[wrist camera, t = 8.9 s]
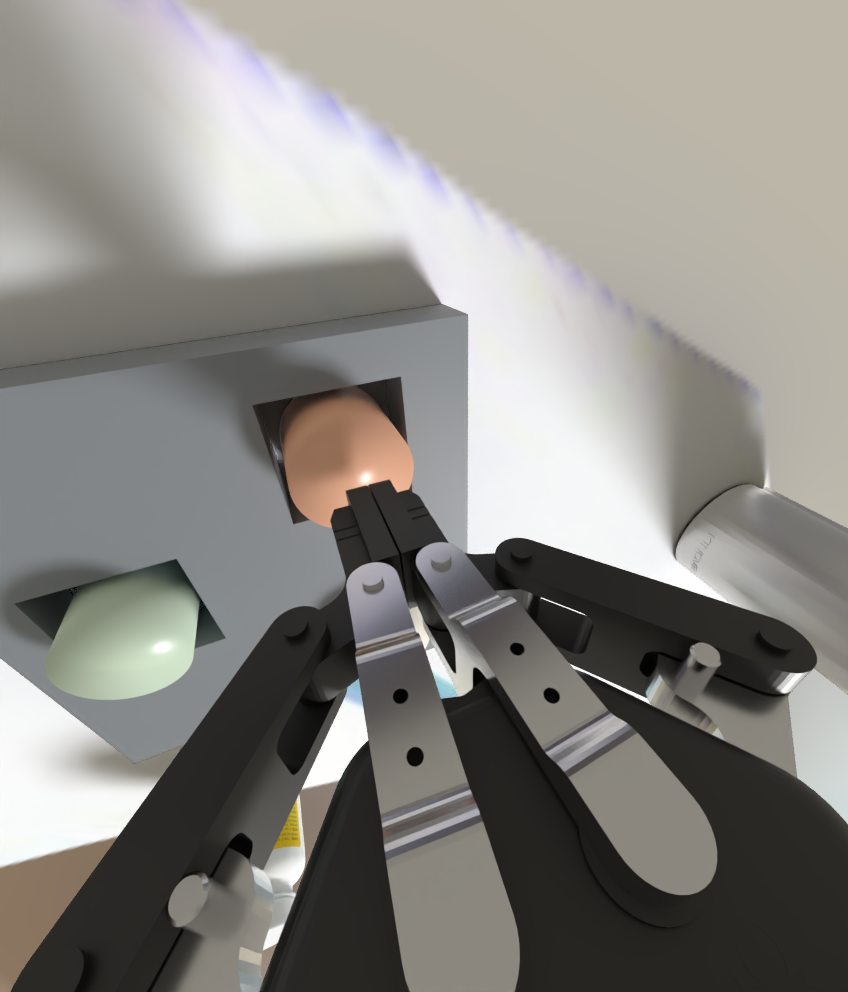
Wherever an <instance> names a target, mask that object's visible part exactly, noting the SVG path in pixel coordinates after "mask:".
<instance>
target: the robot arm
mask: <svg viewBox="0 0 848 992" xmlns="http://www.w3.org/2000/svg"><path fill="white" fill-rule="evenodd" d="M346 497H347V501H348V505H349V506H345V507H341V508H337V509H334V511H333V514H332V517H331V520H330V522H331V526H332V529H333V533H334V536H335V540H336V544H337V547H338V551H339V555H340V558H341V562H342V565H343V569H344V573H345V576H346V582H345V586H344V588H343V590H342V592H341V593H340V594H339V596H338V597H337V598H336V599H334V600H333V601H332V602H331V603H329V604H328V605H326V606H324V607H323V608H321V609H320V610H318V609H317V608H314V607H311V606H299V607H295V608H292V609H290V610H287V611H286V612H284V613H282V614H281V615H280V616H279V617H277V618H276V619H275V620H274V622H273V623H272V624H271V626H270V627H269V628H268V630H267V631H266V632H265V634H264V635H263V637H262V638H261V639H260V641H259V642H258V644H257V645H256V646H255V648H254V649H253V651H252V652H251V653H250V655H249V656H248V657H247V659H246V660H245V662H244V663H243V664H242V666H241V667H240V669H239V670H238V671H237V673H236V674H235V675H234V677H233V678H232V680H231V681H230V682H229V684H228V685H227V687H226V688H225V689H224V691H223V692H222V693H221V695H220V696H219V698H218V699H217V700H216V702H215V703H214V705H213V706H212V707H211V709H210V710H209V712H208V713H207V714H206V716H205V717H204V718H203V720H202V721H201V723H200V724H199V725H198V727H197V728H196V730H195V731H194V732H193V734H192V735H191V736H190V738H189V739H188V741H187V742H186V743H185V745H184V746H183V748H182V749H181V750H180V752H179V753H178V754H177V756H176V757H175V759H174V760H173V761H172V763H171V764H170V766H169V767H168V768H167V770H166V771H165V773H164V774H163V775H162V777H161V778H160V779H159V781H158V782H157V784H156V785H155V786H154V788H153V789H152V791H151V792H150V793H149V795H148V796H147V797H146V799H145V800H144V802H143V803H142V804H141V806H140V807H139V809H138V810H137V811H136V813H135V814H134V815H133V817H132V818H131V820H130V821H129V822H128V824H127V825H126V827H125V828H124V829H123V831H122V832H121V833H120V835H119V836H118V838H117V839H116V840H115V842H114V843H113V845H112V846H111V847H110V849H109V850H108V852H107V853H106V854H105V856H104V857H103V858H102V860H101V861H100V863H99V864H98V865H97V867H96V868H95V870H94V871H93V872H92V874H91V875H90V876H89V878H88V879H87V881H86V882H85V883H84V885H83V886H82V888H81V889H80V890H79V892H78V893H77V895H76V896H75V897H74V899H73V900H72V902H71V903H70V904H69V906H68V907H67V908H66V910H65V911H64V913H63V914H62V915H61V917H60V918H59V919H58V921H57V922H56V924H55V925H54V927H53V928H52V929H51V931H50V932H49V933H48V935H47V936H46V938H45V939H44V940H43V942H42V943H41V945H40V946H39V947H38V949H37V950H36V952H35V953H34V954H33V955H32V957H31V958H30V960H29V961H28V963H27V964H26V966H25V967H24V969H23V970H22V972H21V974H20V975H19V977H18V979H17V981H16V983H15V984H14V986H13V988H12V990H11V992H848V824H847V823H846V822H845V821H844V819H843V818H842V817H841V816H840V815H839V814H838V813H837V812H836V811H835V810H834V809H833V808H832V807H831V806H830V805H829V804H828V803H827V802H826V801H825V800H824V799H823V798H822V797H821V796H819V795H818V794H817V793H816V792H815V791H814V790H812V789H811V788H810V787H808V786H807V785H806V784H804V783H803V782H802V781H801V780H799V779H798V778H797V772H796V764H795V755H794V746H793V737H792V729H791V720H790V712H789V702H788V695H789V694H790V693H791V691H792V690H793V689H794V688H795V687H796V686H797V685H798V684H799V683H800V682H801V681H802V680H803V679H804V678H805V677H806V676H807V675H808V674H809V673H810V672H811V670H812V669H813V668H814V669H816V670H817V671H818V672H819V673H821V674H822V675H823V676H825V677H826V678H827V679H829V680H830V681H831V682H832V683H834V684H835V685H836V686H837V687H839V688H840V689H841V690H843V691H844V692H845V693H846V694H848V528H846V527H844V526H842V525H840V524H838V523H836V522H834V521H832V520H830V519H828V518H826V517H824V516H822V515H820V514H818V513H816V512H814V511H812V510H810V509H808V508H806V507H805V506H803V505H801V504H799V503H797V502H795V501H793V500H791V499H789V498H787V497H784V496H783V495H781V494H779V493H777V492H775V491H773V490H771V489H769V488H767V487H766V488H763V489H761V488H759V487H757V486H755V485H751V484H745V485H740V486H737V487H734V488H732V489H730V490H728V491H726V492H725V493H723V494H722V495H720V496H719V497H717V498H716V499H714V500H713V501H712V502H711V503H710V504H708V505H707V506H706V507H705V508H704V509H703V510H702V511H701V512H700V513H699V514H698V515H697V516H696V517H695V518H694V519H693V521H692V522H691V523H690V524H689V526H688V527H687V528H686V530H685V531H684V533H683V535H682V536H681V538H680V540H679V542H678V545H677V548H676V559H677V561H678V562H679V563H680V564H681V565H682V566H684V567H685V568H686V569H687V570H689V571H690V572H691V573H693V574H694V575H695V576H696V577H698V578H699V579H700V580H702V581H703V582H704V583H705V584H707V585H708V586H709V587H711V588H712V589H713V590H714V591H716V592H717V593H718V594H719V595H720V596H722V597H723V598H724V599H726V600H727V601H728V602H729V603H731V604H732V605H731V604H728V603H725V602H722V601H719V600H716V599H713V598H710V597H706V596H703V595H700V594H697V593H694V592H691V591H688V590H685V589H682V588H678V587H675V586H672V585H669V584H666V583H663V582H660V581H657V580H654V579H650V578H647V577H644V576H641V575H638V574H635V573H632V572H629V571H625V570H622V569H619V568H616V567H613V566H610V565H607V564H604V563H601V562H597V561H594V560H591V559H588V558H585V557H582V556H579V555H576V554H572V553H569V552H566V551H563V550H560V549H557V548H554V547H551V546H548V545H544V544H541V543H538V542H535V541H532V540H529V539H524V538H512V539H508V540H505V541H504V542H502V543H501V544H499V546H498V547H497V549H496V552H495V554H467V553H464V552H463V551H462V550H461V549H460V548H459V547H458V546H456V545H454V544H451V543H449V542H448V541H447V539H446V538H445V536H444V534H443V533H442V531H441V530H440V528H439V527H438V525H437V523H436V522H435V520H434V519H433V517H432V516H431V515H430V512H429V511H428V509H427V508H426V507H425V504H424V503H423V501H422V500H421V498H420V497H419V496H418V495H417V494H415V493H413V492H412V491H410V490H404V491H400V492H397V491H396V489H395V488H394V486H393V484H392V482H391V481H390V479H388V480H384V481H380V482H377V483H373V484H369V485H368V486H367V485H365V486H361V487H358V488H354V489H350V490H346ZM541 597H542V598H545V599H548V600H550V601H553V602H555V603H558V604H561V605H563V606H566V607H568V608H571V609H574V610H576V611H579V612H581V613H583V614H585V615H587V616H585V615H582V614H579V613H577V612H574V611H572V610H569V609H566V608H564V607H561V606H559V605H556V604H553V603H551V602H548V601H546V600H543V599H541ZM417 606H418V608H419V610H420V612H421V614H422V620H423V627H424V629H425V631H426V633H427V635H428V637H429V639H430V641H431V642H432V644H433V646H434V648H435V650H436V652H437V653H438V655H439V657H440V659H441V661H442V663H443V665H444V666H445V668H446V670H447V672H448V674H449V676H450V677H451V679H452V681H453V684H454V686H455V689H456V692H457V696H458V697H452V698H444V699H441V698H440V695H439V692H438V688H437V685H436V682H435V679H434V676H433V673H432V670H431V667H430V664H429V661H428V658H427V655H426V651H425V648H424V645H423V642H422V639H421V637H420V635H419V633H417V632H416V630H415V627H414V623H413V620H412V617H411V614H410V611H409V609H411V608H414V607H417ZM408 607H409V608H408ZM569 663H570V664H572V665H574V666H576V667H579V668H581V669H583V670H585V671H588V672H590V673H592V674H594V675H596V676H599V677H601V678H603V679H605V680H608V681H610V682H612V683H614V684H617V685H619V686H621V687H623V688H625V689H628V690H630V691H632V692H634V693H637V694H639V695H641V696H643V697H646V698H648V700H649V702H650V704H651V705H650V704H648V703H646V702H644V701H642V700H640V699H638V698H636V697H634V696H632V695H630V694H627V693H625V692H623V691H621V690H619V689H617V688H615V687H613V686H611V685H609V684H607V683H605V682H603V681H601V680H599V679H597V678H595V677H592V676H590V675H588V674H586V673H583V672H581V671H578V670H575V669H573V667H572V666H571V665H570V664H569ZM358 678H359V682H360V689H361V695H362V701H363V707H364V714H365V720H366V726H367V733H368V739H369V740H368V741H367V742H366V743H365V744H364V745H363V746H362V747H361V748H360V750H359V751H358V752H357V753H356V754H355V756H354V757H353V758H352V760H351V761H350V763H349V764H348V766H347V768H346V769H345V771H344V773H343V775H342V777H341V779H340V781H339V783H338V785H337V788H336V790H335V793H334V795H333V798H332V800H331V803H330V806H329V808H328V811H327V814H326V817H325V819H324V822H323V824H322V827H321V829H320V832H319V835H318V837H317V840H316V843H315V845H314V848H313V851H312V853H311V856H310V859H309V861H308V864H307V867H306V869H305V872H304V875H303V877H302V880H301V882H300V885H299V888H298V890H297V893H296V895H295V898H294V901H293V903H292V906H291V909H290V911H289V914H288V917H287V919H286V922H285V924H284V927H283V930H282V932H281V935H280V938H279V940H278V943H277V946H276V948H275V951H274V953H273V956H272V959H271V961H270V964H269V967H268V969H267V972H266V974H265V977H264V980H263V982H262V981H261V959H262V952H263V947H264V943H265V940H266V937H267V933H268V930H269V927H270V924H271V920H272V915H273V907H274V894H273V888H272V885H271V882H270V880H269V878H268V876H267V874H266V873H265V872H264V871H263V870H264V868H265V866H266V863H267V861H268V859H269V857H270V855H271V853H272V851H273V849H274V846H275V844H276V842H277V840H278V838H279V836H280V834H281V831H282V829H283V827H284V825H285V823H286V821H287V819H288V817H289V814H290V812H291V810H292V808H293V806H294V804H295V802H296V800H297V797H298V795H299V793H300V791H301V789H302V787H303V785H304V783H305V780H306V778H307V776H308V774H309V772H310V770H311V768H312V766H313V763H314V761H315V759H316V757H317V755H318V753H319V751H320V749H321V746H322V744H323V742H324V740H325V738H326V736H327V734H328V731H329V729H330V727H331V725H332V723H333V721H334V719H335V717H336V714H337V712H338V710H339V708H340V706H341V704H342V702H343V700H344V697H345V695H346V692H347V687H348V686H350V685H351V684H352V683H353V682H355V681H356V680H357V679H358Z"/></svg>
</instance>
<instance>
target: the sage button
mask: <svg viewBox="0 0 848 992" xmlns="http://www.w3.org/2000/svg"><path fill="white" fill-rule="evenodd" d="M199 602H200V596H199V594H198V593H197V591H196V589H195V588H194V586H193V585H192V583H191V581H190V580H189V578H188V577H187V575H186V573H185V572H184V570H183V568H182V567H181V565H180V564H179V562H178V560H177V559H174V560H170V561H167V562H163V563H159V564H156V565H152V566H149V567H145V568H141V569H138V570H134V571H130V572H127V573H123V574H120V575H116V576H112V577H109V578H105V579H101V580H98V581H94V582H91V583H87V584H83V585H80V586H78V587H77V589H76V592H75V594H74V596H73V598H72V601H71V603H70V605H69V607H68V610H67V612H66V614H65V616H64V618H63V621H62V623H61V625H60V627H59V630H58V632H57V634H56V636H55V639H54V641H53V643H52V645H51V648H50V650H49V652H48V654H47V656H46V659H45V663H44V670H45V673H46V676H47V678H48V679H49V681H50V682H51V683H52V684H53V685H55V686H56V687H57V688H59V689H60V690H62V691H64V692H66V693H69V694H72V695H75V696H78V697H82V698H88V699H97V700H119V699H128V698H134V697H138V696H143V695H146V694H150V693H153V692H155V691H158V690H160V689H163V688H165V687H167V686H169V685H170V684H172V683H174V682H175V681H176V680H178V679H179V678H180V677H181V676H183V675H184V674H185V672H186V671H187V670H188V669H189V667H190V666H191V663H192V661H193V656H194V647H195V638H196V629H197V620H198V611H199Z"/></svg>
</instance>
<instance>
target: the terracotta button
mask: <svg viewBox="0 0 848 992" xmlns="http://www.w3.org/2000/svg"><path fill="white" fill-rule="evenodd" d="M279 435H280V442H281V448H282V454H283V459H284V465H285V471H286V476H287V482H288V487H289V492H290V495H291V498H292V500H293V502H294V504H295V505H296V507H297V508H298V509H299V511H300V512H301V513H302V514H303V515H304V516H306V517H307V518H308V519H310V520H311V521H313V522H315V523H317V524H319V525H322V526H325V527H329V528H332V526H331V522H330V520H331V517H332V514H333V511H334V509H337V508H341V507H345V506H349V505H348V501H347V497H346V490H350V489H354V488H358V487H361V486H365V485H367V486H368V485H369V484H373V483H377V482H380V481H384V480H388V479H390V481H391V482H392V484H393V486H394V488H395V489H396V491H397V492H400V491H404V490H409V488H410V485H411V482H412V479H413V472H414V463H413V457H412V454H411V451H410V449H409V447H408V445H407V443H406V442H405V440H404V439H403V438H402V436H401V435H400V434H399V432H398V431H397V430H396V428H395V427H394V426H393V424H392V423H391V421H390V420H389V419H388V417H387V416H386V415H385V413H384V412H383V411H382V409H381V408H380V407H379V405H378V404H377V403H376V401H375V400H374V399H373V398H372V397H371V396H370V395H369V394H368V393H367V392H365V391H364V390H362V389H361V388H359V387H357V386H349V387H344V388H339V389H334V390H328V391H323V392H318V393H313V394H308V395H303V396H297V397H294V398H293V399H292V400H291V402H290V403H289V404H288V406H287V407H286V409H285V411H284V413H283V415H282V418H281V422H280V429H279Z"/></svg>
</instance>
